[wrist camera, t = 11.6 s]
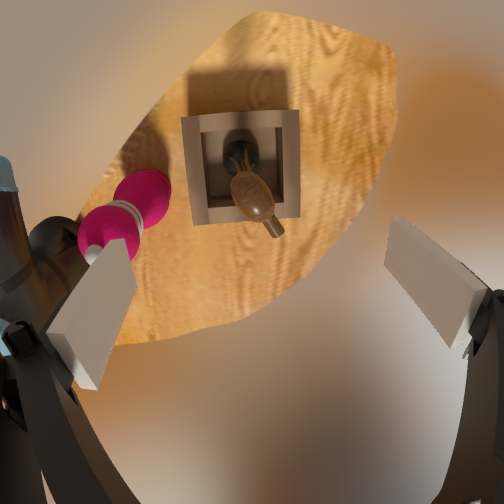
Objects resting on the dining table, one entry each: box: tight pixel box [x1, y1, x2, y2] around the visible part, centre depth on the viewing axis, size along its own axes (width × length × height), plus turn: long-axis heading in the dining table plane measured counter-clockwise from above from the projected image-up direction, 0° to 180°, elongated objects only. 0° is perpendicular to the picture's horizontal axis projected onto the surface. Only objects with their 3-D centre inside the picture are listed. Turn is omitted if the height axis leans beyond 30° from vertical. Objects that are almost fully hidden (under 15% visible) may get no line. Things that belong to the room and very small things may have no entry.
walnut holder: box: [181, 110, 300, 226], centre depth 34 cm, size 13×13×6 cm
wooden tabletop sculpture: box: [223, 140, 285, 238], centre depth 27 cm, size 6×5×20 cm
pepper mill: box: [78, 169, 171, 265], centre depth 29 cm, size 7×7×20 cm
